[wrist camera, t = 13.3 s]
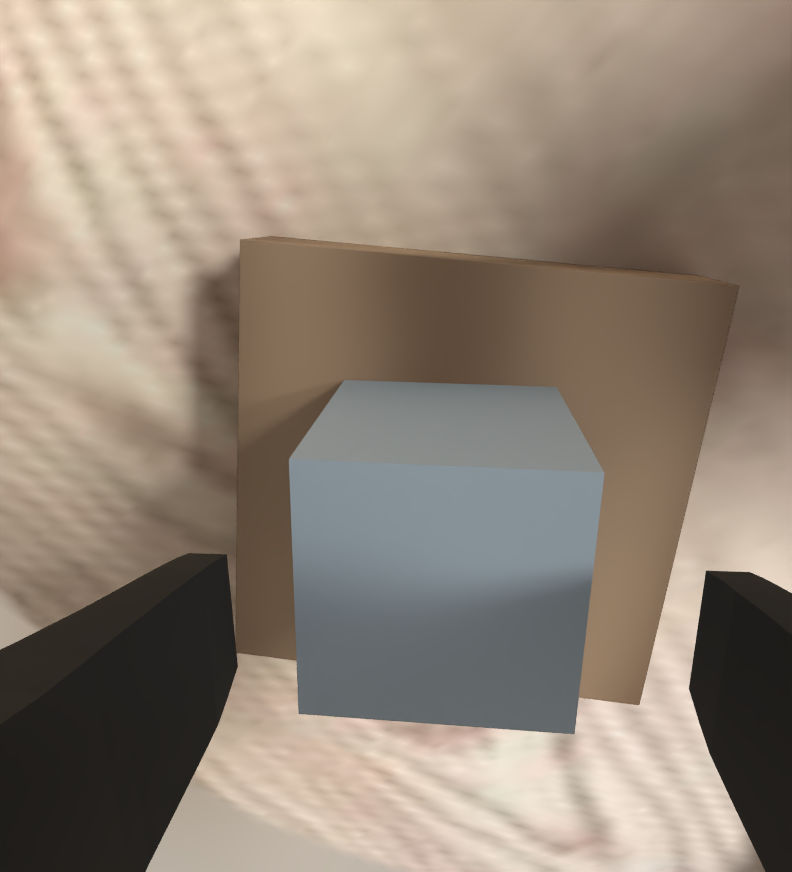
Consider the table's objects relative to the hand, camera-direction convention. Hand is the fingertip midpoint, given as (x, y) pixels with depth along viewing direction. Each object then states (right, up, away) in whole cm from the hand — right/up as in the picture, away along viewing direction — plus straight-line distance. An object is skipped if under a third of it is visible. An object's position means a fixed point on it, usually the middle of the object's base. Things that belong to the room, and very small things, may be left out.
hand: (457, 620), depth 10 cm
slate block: (0, +2, +5) cm, 5 cm away
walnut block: (+1, +3, +8) cm, 8 cm away
